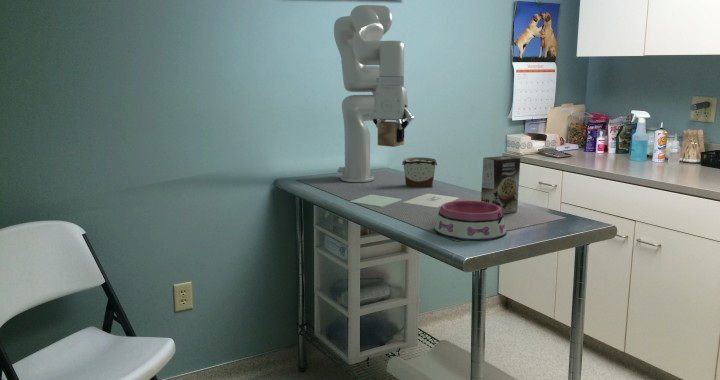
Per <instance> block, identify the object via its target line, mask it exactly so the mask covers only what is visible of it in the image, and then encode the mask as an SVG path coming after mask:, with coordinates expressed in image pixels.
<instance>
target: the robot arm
mask: <svg viewBox="0 0 720 380" xmlns="http://www.w3.org/2000/svg"><path fill="white" fill-rule="evenodd" d="M392 25H393V14H392V11H391V9H390V8H389V7H388V6H386V5H380V4H379V5H378V4H377V5H375V4H360V5H356V6H355V7H354V8H353V9H352V10H351V11H350V15H347V16H346V15H345V16H344V15H343V16H340V17H338V18H337V19H336V20H335V21H334V25H333V36H334V41H335V44H336V47H337V50H338V52H339V56H340V61H341V71H342V72H341V73H342V80H343V86H344V89H345V90H346V91H347V92H348V93H349V92H350V93H372V94H350V95H347V96H346V97H344V99H343V100H342V102H341V112H342V113H341V114H342V119H343V127H344V129H343V130H344V131H343V133H344V166H339V167H338V168H337V173H342V175H341V176H340V180H341V181H342V182H346V183H368V182H372V181H374V180H375V176H374V175H373V174H371V133H370V130H369V128H368V127H367V126H366V125H365V123H364V122H370V121H372V122H373V124H375V128H376V129H378V123H380V122H386V121H395V122H397V125H398V129H397V142H403V141H404V142H405V129H406V128H407V127H408V125H409V124H410V123H411V122H412V121H413V120H414V119H415V116H414V115H413V114H412V113H411V112H410V111H409V104H408V93H407V89H406V87H405V86H404V85H405V44H404V42H403V41H401V40H382V38H383V36H384V35H385V34H387V33H388V31H390V29H391V28H392Z"/></svg>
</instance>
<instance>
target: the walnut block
mask: <svg viewBox="0 0 720 380" xmlns="http://www.w3.org/2000/svg"><path fill="white" fill-rule="evenodd" d="M397 129H398V125H397V122H396V121H394V120H386V121H385V122H380V123H378V128H377V146H381V147H382V146H383V147H393V148H394V147H399V146H404V145H405V140H404V141H403V142H397Z"/></svg>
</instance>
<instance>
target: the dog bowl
mask: <svg viewBox="0 0 720 380" xmlns="http://www.w3.org/2000/svg"><path fill="white" fill-rule="evenodd" d="M437 214H438V215H437V218H436V219H437V220H436V223H435V225H434V228H433V231H434V232H435V233H436V234H437V235H438V236H442V237H445V238H448V239H453V240H459V241H468V242H484V241H485V242H486V241H495V240H500V239H502V238H504V237H505V236H506V235H507V229H506V226H505V221H504V220H505V219H504V214H503V213H502V209H501V208H500V206H498V205H495V204H492V203H488V202H481V200H454V201H452V202H447V203H444V204H443V205H442V206H440V208H439V211H438V213H437Z"/></svg>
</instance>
